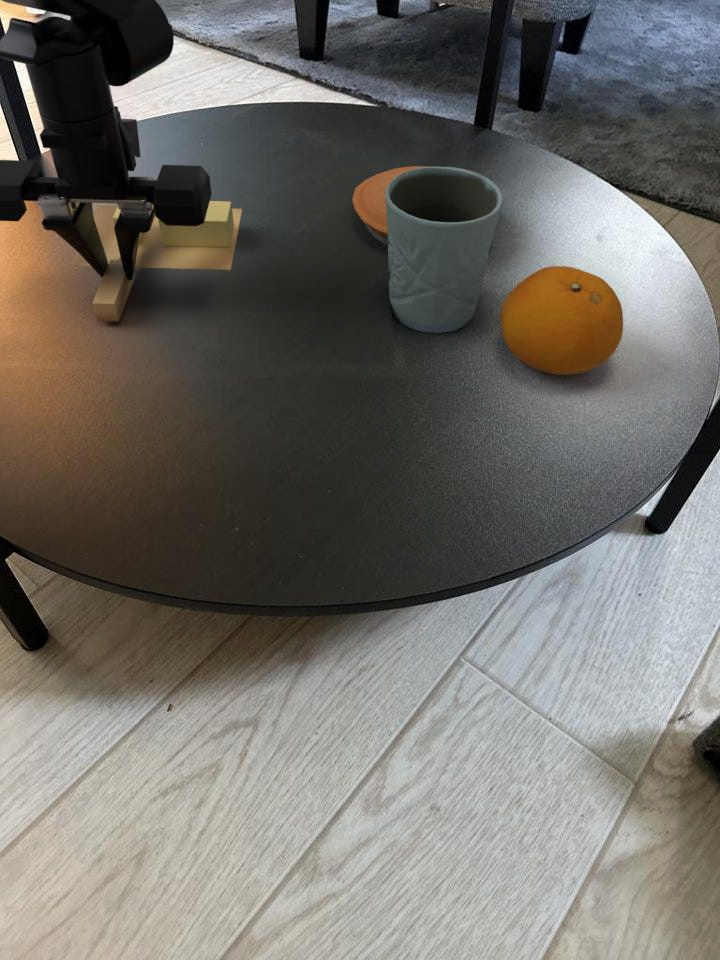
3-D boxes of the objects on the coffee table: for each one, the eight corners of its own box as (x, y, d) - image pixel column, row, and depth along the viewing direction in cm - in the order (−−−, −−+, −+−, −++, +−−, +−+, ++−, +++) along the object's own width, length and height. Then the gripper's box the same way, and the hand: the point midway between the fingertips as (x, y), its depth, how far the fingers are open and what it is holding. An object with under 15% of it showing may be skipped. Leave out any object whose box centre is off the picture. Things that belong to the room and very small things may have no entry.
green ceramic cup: (502, 312, 73) (526, 197, 64) (429, 353, 68) (445, 236, 59) (430, 267, 78) (443, 154, 68) (358, 302, 73) (361, 187, 64)
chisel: (119, 321, 67) (114, 303, 66) (97, 321, 67) (91, 302, 66) (154, 223, 78) (151, 205, 77) (135, 222, 78) (131, 205, 77)
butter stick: (162, 246, 76) (157, 219, 74) (168, 225, 79) (164, 199, 77) (230, 247, 77) (227, 221, 74) (234, 227, 79) (231, 201, 77)
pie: (447, 288, 75) (454, 245, 71) (324, 239, 80) (324, 196, 77) (514, 225, 84) (523, 183, 80) (398, 184, 89) (402, 143, 85)
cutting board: (73, 276, 74) (70, 265, 74) (100, 214, 82) (97, 204, 81) (232, 279, 75) (230, 269, 74) (243, 218, 83) (242, 208, 82)
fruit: (573, 410, 64) (599, 336, 58) (474, 356, 68) (488, 282, 62) (629, 353, 69) (658, 280, 63) (533, 307, 73) (552, 234, 67)
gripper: (208, 71, 64) (227, 235, 75) (-10, 64, 63) (43, 230, 75) (189, 128, 56) (213, 299, 68) (-58, 120, 56) (10, 294, 68)
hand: (119, 277), depth 70 cm, fingers closed on chisel, 2 cm apart
